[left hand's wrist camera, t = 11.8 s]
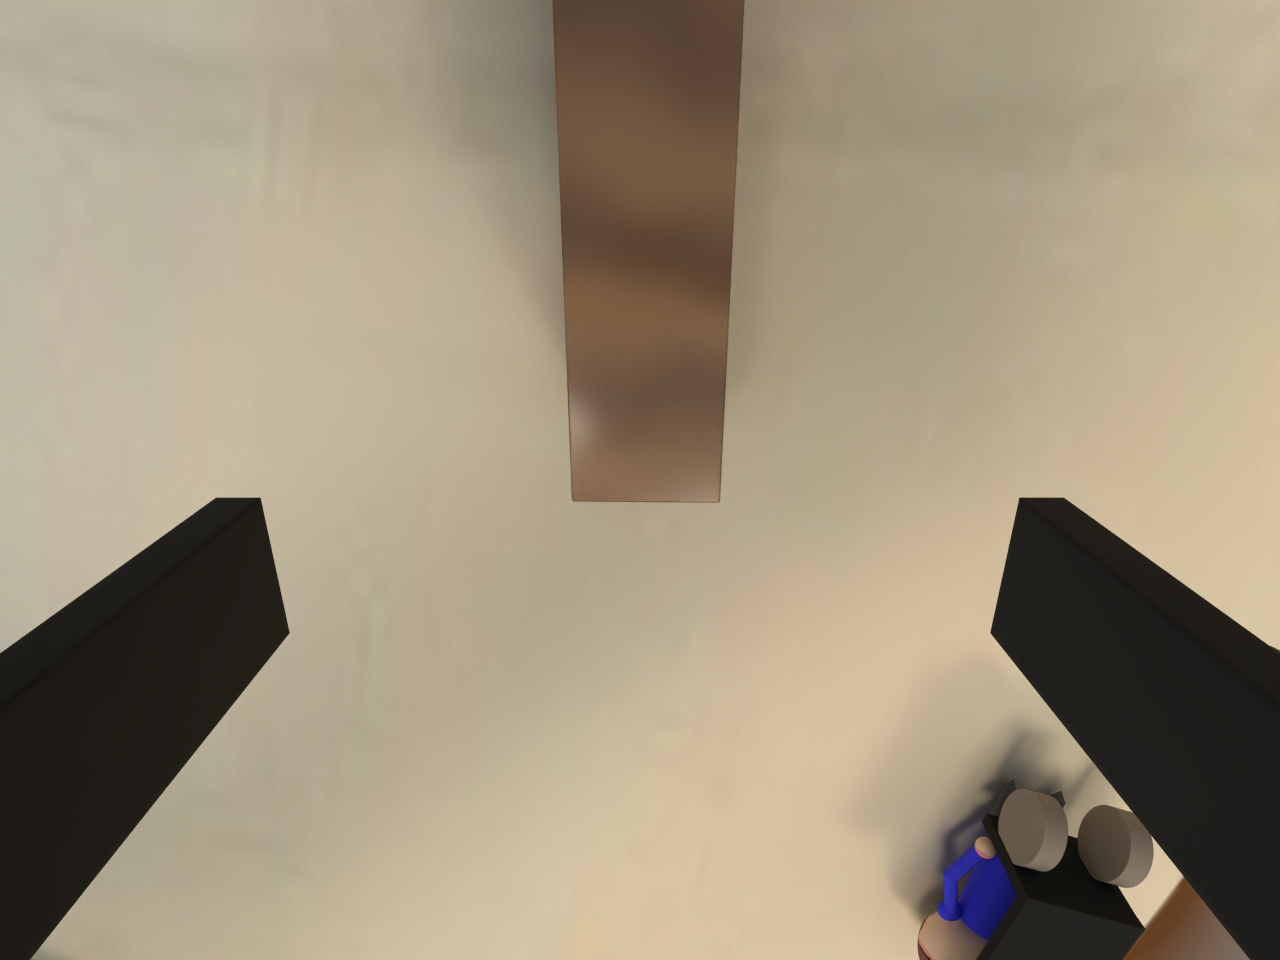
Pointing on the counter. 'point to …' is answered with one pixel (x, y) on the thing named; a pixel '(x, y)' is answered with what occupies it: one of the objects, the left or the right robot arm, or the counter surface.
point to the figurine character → (1042, 885)
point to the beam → (647, 240)
